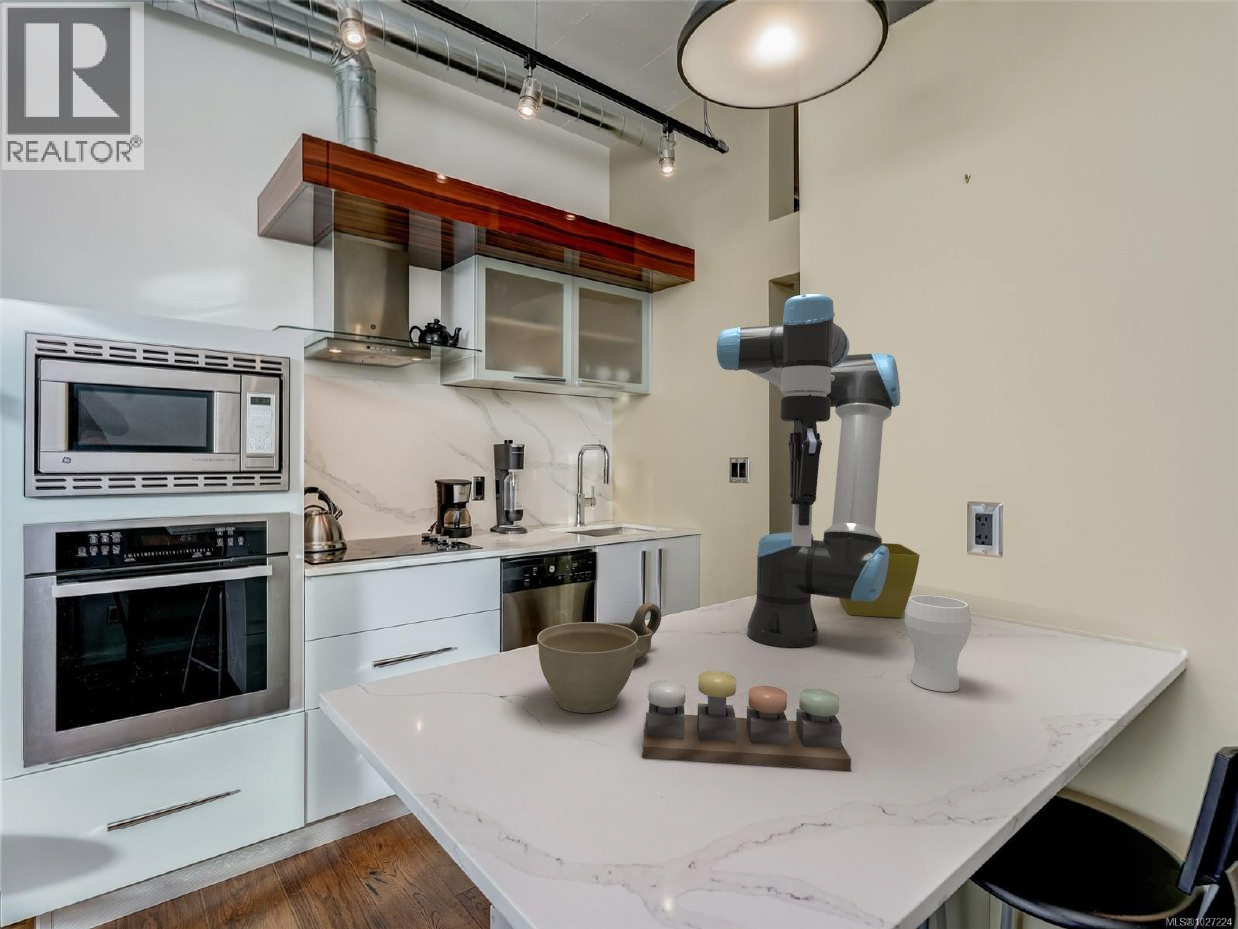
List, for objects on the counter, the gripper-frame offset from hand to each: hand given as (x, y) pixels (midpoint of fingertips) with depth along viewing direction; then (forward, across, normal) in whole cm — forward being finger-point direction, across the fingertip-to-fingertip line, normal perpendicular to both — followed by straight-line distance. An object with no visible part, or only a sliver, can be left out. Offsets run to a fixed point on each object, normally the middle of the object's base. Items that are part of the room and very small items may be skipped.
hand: (801, 545), depth 101 cm
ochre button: (+22, -13, +14) cm, 29 cm away
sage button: (+24, -13, 0) cm, 27 cm away
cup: (+27, +15, -27) cm, 41 cm away
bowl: (+27, +21, +29) cm, 45 cm away
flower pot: (+27, +68, -32) cm, 80 cm away
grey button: (+24, -13, +21) cm, 34 cm away
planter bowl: (+27, -2, +34) cm, 43 cm away
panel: (+26, -13, +10) cm, 31 cm away
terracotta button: (+24, -13, +7) cm, 28 cm away
